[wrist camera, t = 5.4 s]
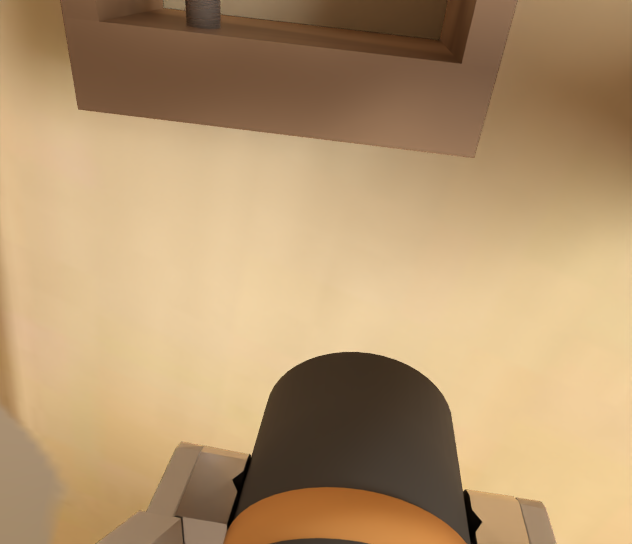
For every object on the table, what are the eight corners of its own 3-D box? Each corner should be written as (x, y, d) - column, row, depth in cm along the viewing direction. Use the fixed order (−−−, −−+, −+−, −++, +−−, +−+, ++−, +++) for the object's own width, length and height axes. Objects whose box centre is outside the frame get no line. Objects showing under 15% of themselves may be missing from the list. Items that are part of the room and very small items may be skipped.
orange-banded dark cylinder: (433, 500, 13) (455, 762, 8) (261, 472, 13) (199, 711, 9) (476, 366, 10) (538, 632, 6) (267, 336, 11) (186, 569, 6)
